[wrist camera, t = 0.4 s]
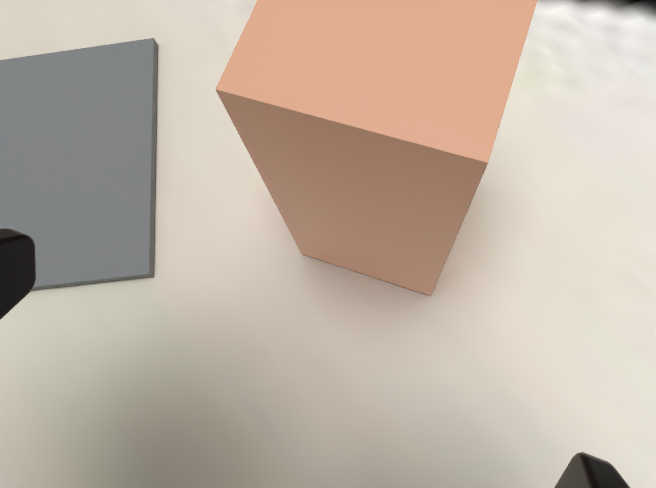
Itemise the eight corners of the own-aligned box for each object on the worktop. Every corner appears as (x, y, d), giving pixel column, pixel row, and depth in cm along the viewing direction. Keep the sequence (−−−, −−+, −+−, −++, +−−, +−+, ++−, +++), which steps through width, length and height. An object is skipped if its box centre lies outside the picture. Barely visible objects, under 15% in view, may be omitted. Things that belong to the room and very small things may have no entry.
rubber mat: (153, 276, 22) (148, 273, 22) (-87, 303, 23) (-96, 301, 23) (157, 44, 26) (153, 38, 26) (-50, 74, 27) (-57, 68, 26)
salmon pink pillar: (430, 296, 21) (488, 162, 10) (301, 254, 22) (215, 89, 11) (468, 174, 22) (557, -68, 11) (345, 140, 23) (311, -113, 12)
